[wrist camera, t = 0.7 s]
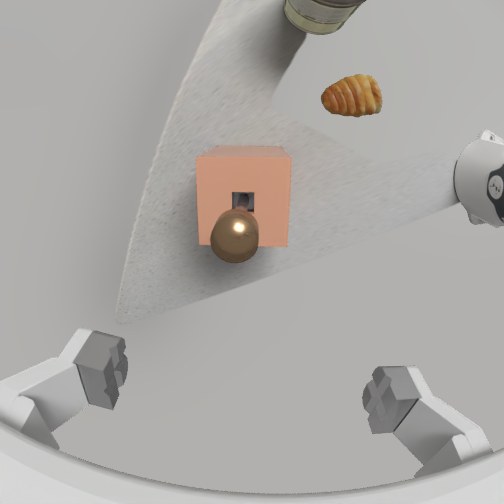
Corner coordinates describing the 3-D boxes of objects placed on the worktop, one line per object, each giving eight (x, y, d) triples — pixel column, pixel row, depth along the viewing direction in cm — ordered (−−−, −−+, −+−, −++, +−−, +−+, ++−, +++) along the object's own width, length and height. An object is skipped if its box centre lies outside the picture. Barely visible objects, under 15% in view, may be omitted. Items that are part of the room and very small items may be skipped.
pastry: (327, 123, 44) (332, 123, 40) (314, 83, 41) (318, 79, 38) (380, 112, 42) (389, 112, 39) (369, 73, 40) (377, 69, 36)
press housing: (282, 146, 45) (291, 158, 31) (279, 208, 49) (287, 247, 35) (217, 145, 46) (195, 157, 31) (218, 207, 50) (199, 244, 35)
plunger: (279, 165, 33) (289, 190, 21) (277, 231, 36) (284, 287, 24) (209, 164, 33) (179, 189, 21) (211, 230, 36) (186, 285, 25)
